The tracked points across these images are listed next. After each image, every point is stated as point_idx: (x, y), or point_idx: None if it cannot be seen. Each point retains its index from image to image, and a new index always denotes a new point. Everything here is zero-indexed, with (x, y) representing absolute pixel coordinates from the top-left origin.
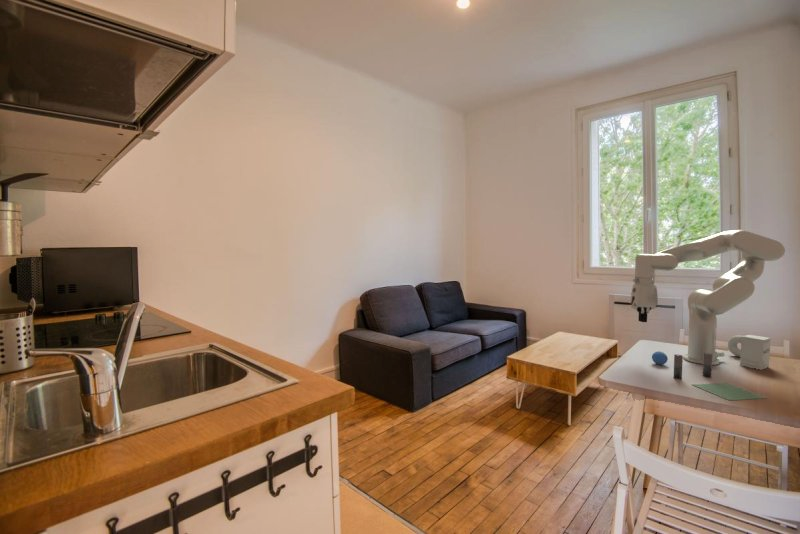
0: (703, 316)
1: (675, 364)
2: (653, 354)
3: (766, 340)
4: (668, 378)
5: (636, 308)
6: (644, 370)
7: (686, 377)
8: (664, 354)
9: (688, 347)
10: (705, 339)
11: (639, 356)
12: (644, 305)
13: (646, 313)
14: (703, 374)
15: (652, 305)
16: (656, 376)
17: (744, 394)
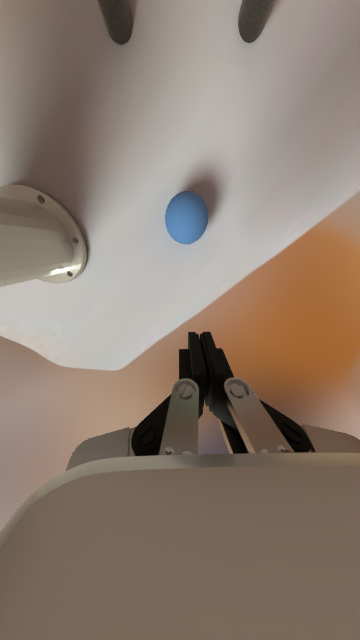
0: None
1: None
2: (205, 225)
3: None
4: (286, 26)
5: (319, 439)
6: (276, 166)
7: (207, 27)
8: (181, 198)
9: (50, 260)
10: None
11: (184, 297)
12: (351, 496)
13: (199, 376)
14: (130, 10)
15: (146, 493)
16: (304, 73)
17: None
